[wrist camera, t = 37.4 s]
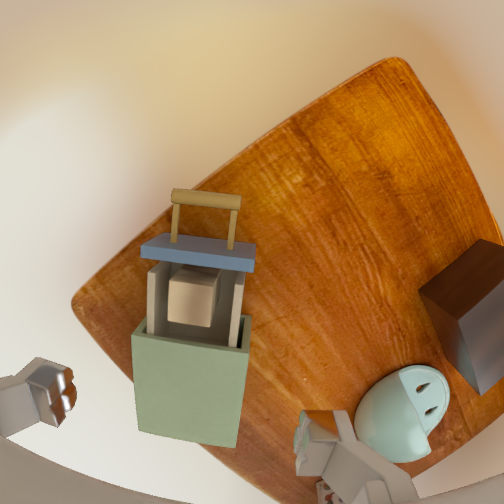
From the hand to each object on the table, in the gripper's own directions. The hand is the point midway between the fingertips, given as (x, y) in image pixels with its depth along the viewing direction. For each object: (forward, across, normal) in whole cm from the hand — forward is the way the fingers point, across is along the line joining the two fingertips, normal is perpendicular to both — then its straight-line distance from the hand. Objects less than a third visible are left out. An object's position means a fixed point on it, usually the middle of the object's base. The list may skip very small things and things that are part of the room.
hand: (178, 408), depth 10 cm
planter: (+27, -28, +22) cm, 45 cm away
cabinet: (+27, +3, +15) cm, 31 cm away
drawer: (+26, +3, +3) cm, 27 cm away
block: (+25, +3, +4) cm, 26 cm away
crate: (+27, -32, +4) cm, 42 cm away
